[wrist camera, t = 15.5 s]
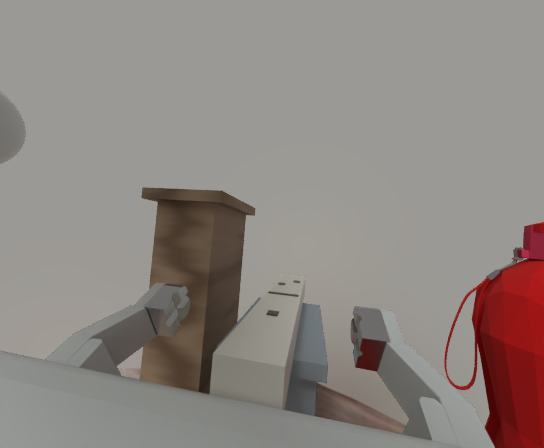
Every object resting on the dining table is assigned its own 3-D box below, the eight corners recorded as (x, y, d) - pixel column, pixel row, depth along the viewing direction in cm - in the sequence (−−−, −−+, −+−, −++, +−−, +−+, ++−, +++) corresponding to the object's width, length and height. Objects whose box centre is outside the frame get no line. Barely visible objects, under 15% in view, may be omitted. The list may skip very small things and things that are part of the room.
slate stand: (187, 594, 14) (209, 345, 14) (244, 429, 26) (255, 297, 26) (320, 645, 12) (336, 367, 13) (315, 446, 24) (324, 305, 25)
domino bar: (207, 414, 9) (213, 350, 9) (281, 291, 30) (282, 272, 30) (280, 431, 8) (285, 364, 9) (304, 294, 29) (305, 275, 29)
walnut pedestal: (107, 473, 20) (138, 187, 21) (183, 386, 32) (199, 205, 33) (200, 502, 18) (227, 191, 20) (243, 399, 30) (258, 208, 31)
